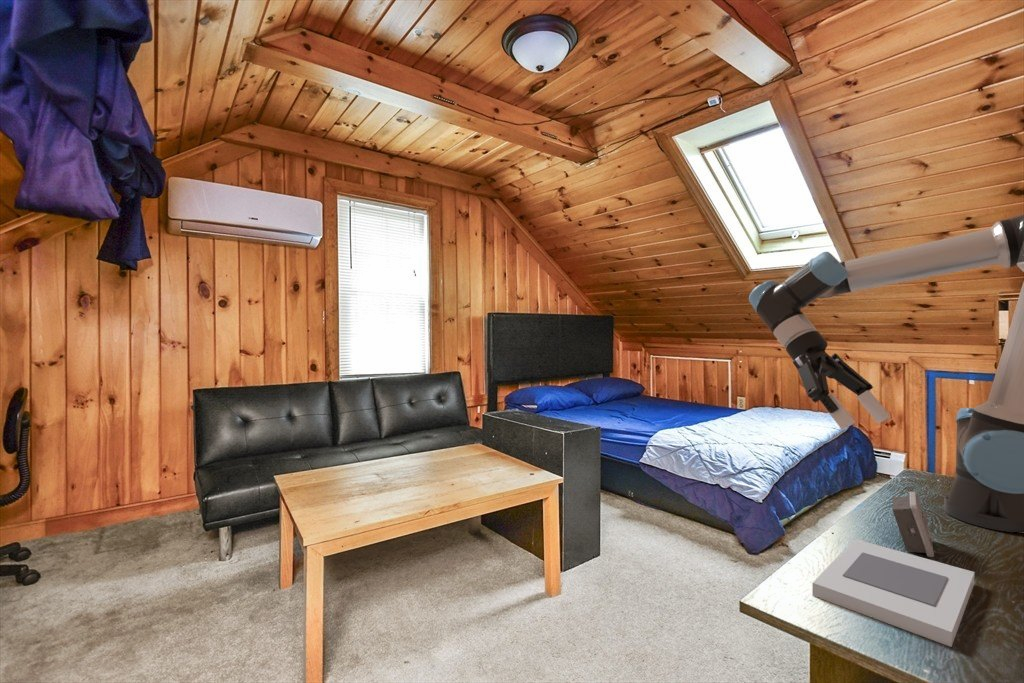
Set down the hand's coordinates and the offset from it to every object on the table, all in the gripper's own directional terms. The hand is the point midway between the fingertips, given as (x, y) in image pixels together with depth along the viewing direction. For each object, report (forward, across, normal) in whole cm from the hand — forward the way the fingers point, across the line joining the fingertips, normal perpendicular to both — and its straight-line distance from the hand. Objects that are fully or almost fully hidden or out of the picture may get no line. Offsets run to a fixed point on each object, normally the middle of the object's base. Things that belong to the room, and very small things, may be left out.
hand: (867, 423), depth 97 cm
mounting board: (+26, +20, -4) cm, 33 cm away
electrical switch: (+22, 0, -8) cm, 23 cm away
